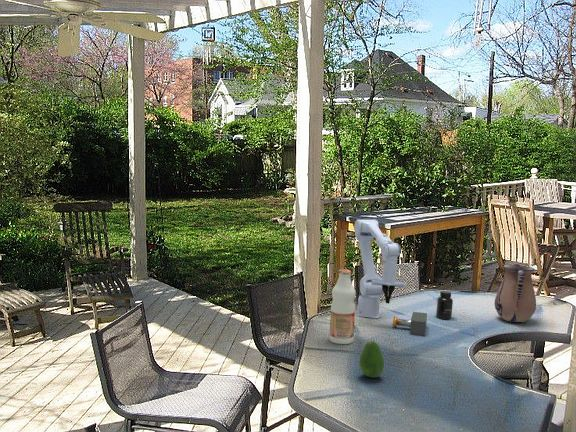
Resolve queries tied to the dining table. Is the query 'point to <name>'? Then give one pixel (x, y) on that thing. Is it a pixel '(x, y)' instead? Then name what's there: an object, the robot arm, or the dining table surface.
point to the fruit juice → (342, 310)
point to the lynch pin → (401, 322)
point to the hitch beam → (418, 323)
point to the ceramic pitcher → (516, 294)
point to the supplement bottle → (444, 306)
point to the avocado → (371, 360)
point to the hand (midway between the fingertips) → (387, 302)
